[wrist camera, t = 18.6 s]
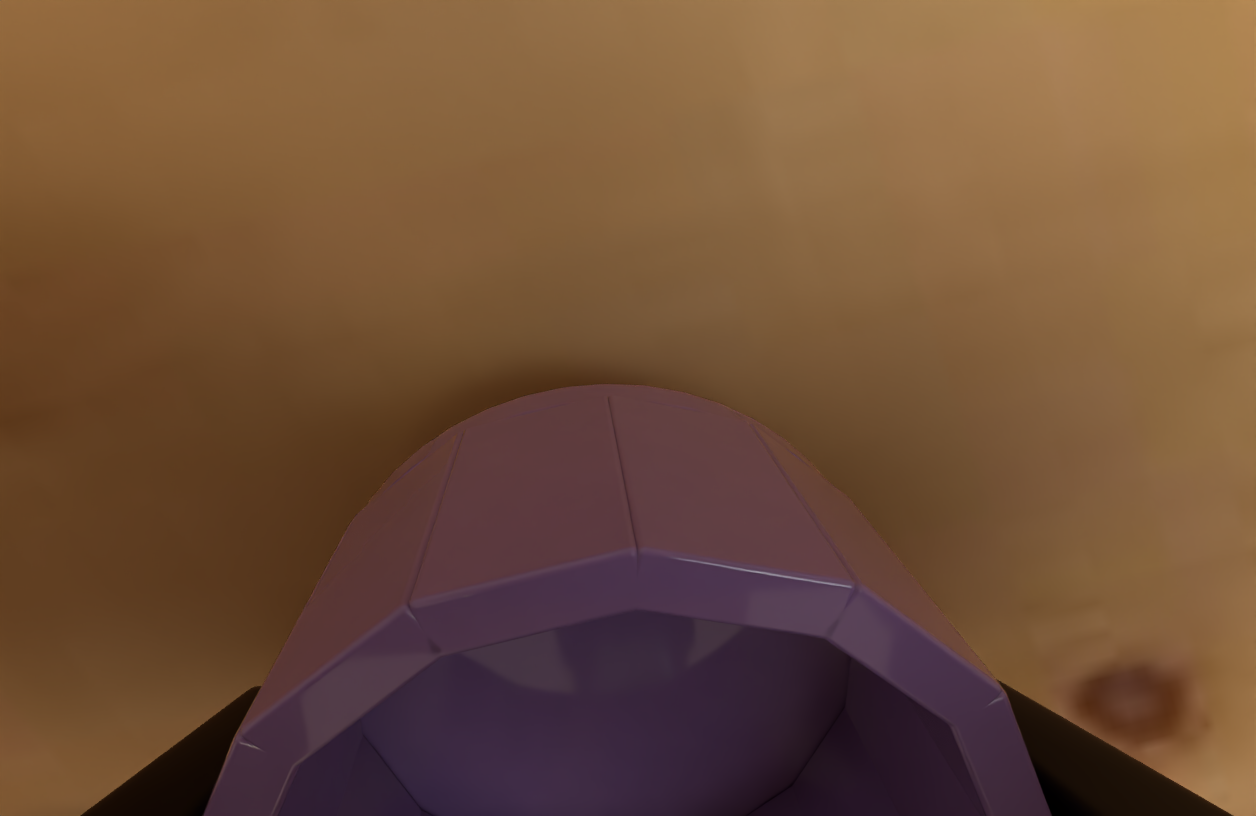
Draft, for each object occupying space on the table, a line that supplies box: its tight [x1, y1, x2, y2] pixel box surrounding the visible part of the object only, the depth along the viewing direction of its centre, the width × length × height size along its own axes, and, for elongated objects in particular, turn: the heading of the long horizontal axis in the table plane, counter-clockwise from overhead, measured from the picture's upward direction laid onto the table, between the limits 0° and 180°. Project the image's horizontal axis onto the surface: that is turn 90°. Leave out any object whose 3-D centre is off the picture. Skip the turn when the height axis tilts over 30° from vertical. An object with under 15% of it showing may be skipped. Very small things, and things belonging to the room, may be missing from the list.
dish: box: [202, 384, 1052, 816], centre depth 7 cm, size 6×6×4 cm
